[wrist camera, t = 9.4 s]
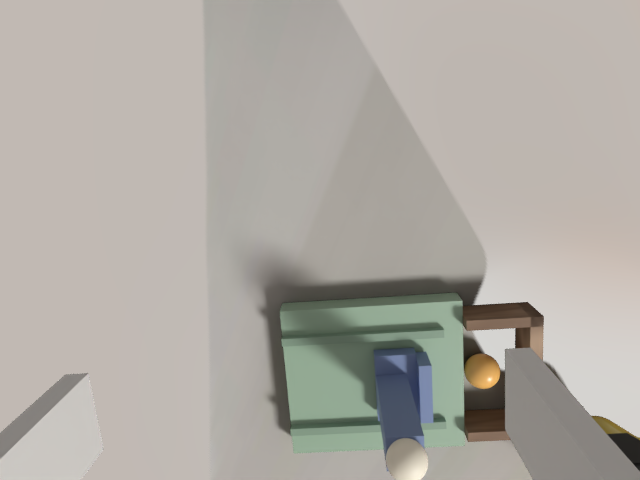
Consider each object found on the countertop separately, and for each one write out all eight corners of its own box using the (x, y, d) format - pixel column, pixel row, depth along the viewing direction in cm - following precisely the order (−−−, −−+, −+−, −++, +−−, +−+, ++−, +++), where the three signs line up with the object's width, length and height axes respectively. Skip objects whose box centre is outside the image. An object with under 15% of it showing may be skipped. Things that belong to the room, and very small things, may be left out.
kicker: (372, 349, 49) (385, 433, 35) (425, 346, 49) (459, 429, 35) (376, 412, 51) (390, 516, 37) (427, 410, 50) (461, 513, 37)
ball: (495, 347, 51) (461, 348, 52) (503, 362, 48) (467, 363, 48) (495, 378, 52) (461, 378, 53) (503, 395, 49) (467, 395, 49)
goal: (456, 306, 51) (466, 320, 47) (527, 302, 50) (543, 316, 46) (458, 419, 53) (468, 441, 50) (526, 415, 53) (540, 438, 49)
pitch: (282, 303, 51) (278, 314, 48) (456, 292, 50) (464, 303, 47) (295, 439, 55) (293, 458, 51) (458, 431, 54) (466, 450, 51)
